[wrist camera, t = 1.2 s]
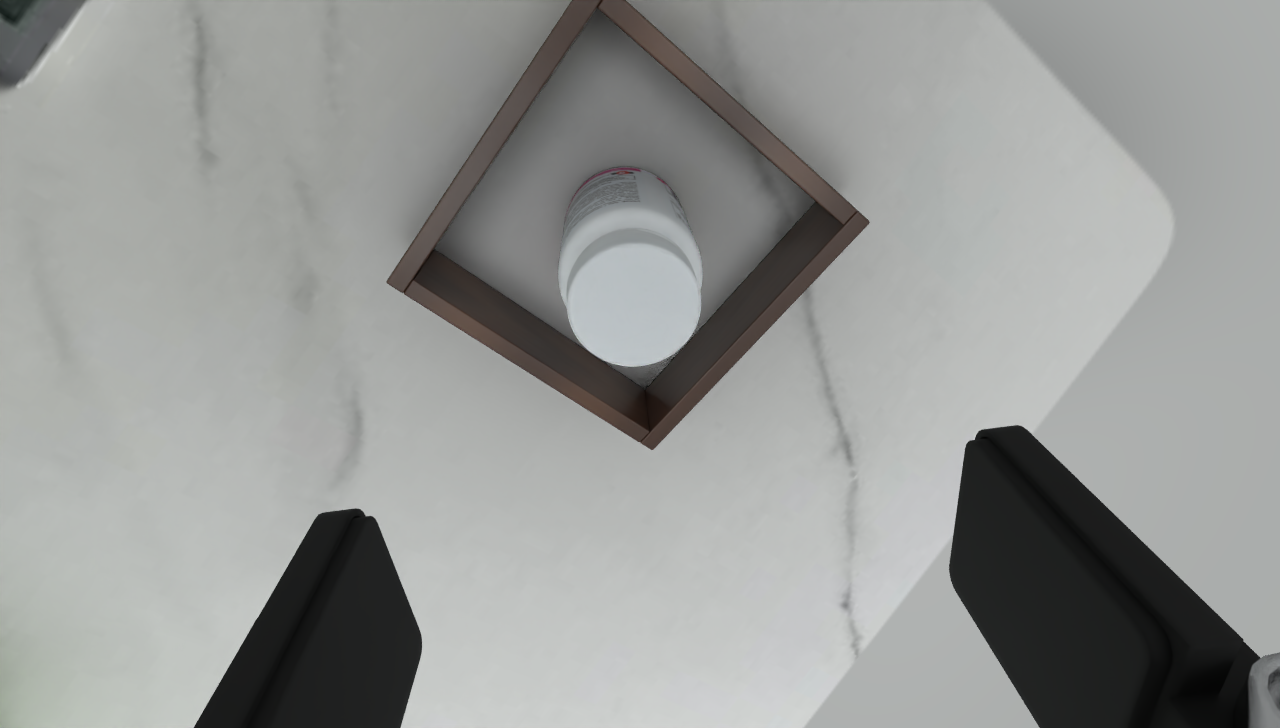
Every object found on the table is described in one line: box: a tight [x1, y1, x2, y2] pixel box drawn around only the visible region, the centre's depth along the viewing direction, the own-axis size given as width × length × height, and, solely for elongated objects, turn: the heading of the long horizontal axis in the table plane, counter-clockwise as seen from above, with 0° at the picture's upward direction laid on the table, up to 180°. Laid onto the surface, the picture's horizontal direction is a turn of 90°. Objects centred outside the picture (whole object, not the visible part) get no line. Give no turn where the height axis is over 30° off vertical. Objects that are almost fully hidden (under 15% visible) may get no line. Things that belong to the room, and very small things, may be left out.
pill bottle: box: [558, 167, 703, 367], centre depth 23 cm, size 5×5×8 cm
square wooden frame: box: [387, 0, 870, 450], centre depth 25 cm, size 12×12×4 cm
